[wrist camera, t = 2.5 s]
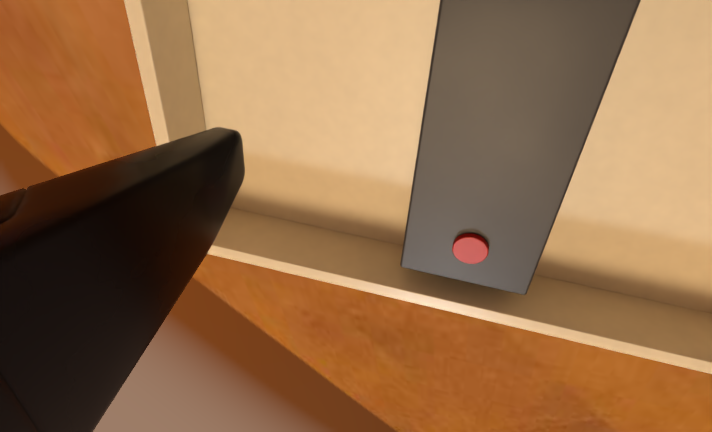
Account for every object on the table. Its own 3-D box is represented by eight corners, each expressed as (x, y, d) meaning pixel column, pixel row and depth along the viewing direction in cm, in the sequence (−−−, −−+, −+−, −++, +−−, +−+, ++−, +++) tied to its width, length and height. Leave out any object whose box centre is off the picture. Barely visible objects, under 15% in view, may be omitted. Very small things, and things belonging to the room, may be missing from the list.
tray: (1380, -394, 8) (1717, -478, 6) (760, 324, 20) (791, 394, 17) (121, -393, 12) (23, -443, 10) (213, 204, 24) (178, 247, 21)
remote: (493, -290, 11) (485, -314, 9) (720, -283, 10) (764, -307, 8) (411, 228, 21) (398, 271, 19) (526, 252, 20) (525, 300, 18)
